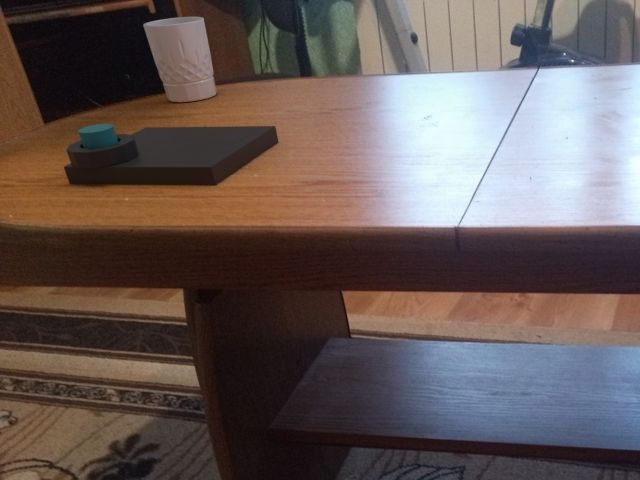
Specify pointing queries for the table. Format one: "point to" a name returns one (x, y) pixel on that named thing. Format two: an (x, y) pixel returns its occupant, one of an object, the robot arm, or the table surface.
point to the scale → (170, 156)
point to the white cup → (182, 57)
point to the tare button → (98, 136)
